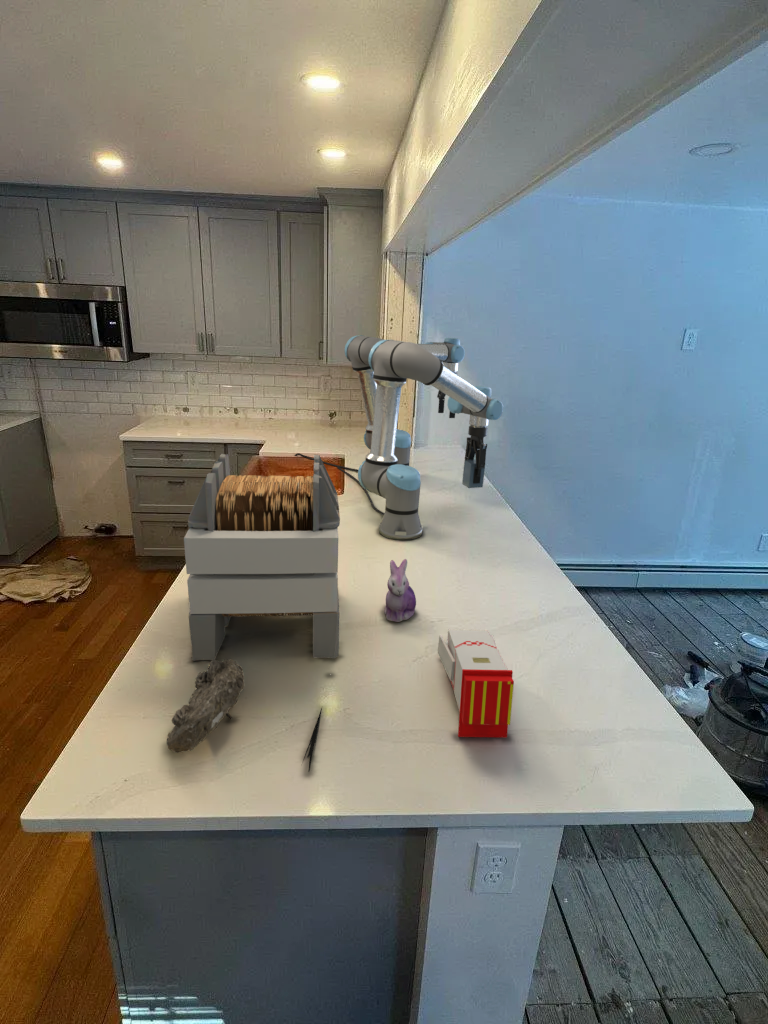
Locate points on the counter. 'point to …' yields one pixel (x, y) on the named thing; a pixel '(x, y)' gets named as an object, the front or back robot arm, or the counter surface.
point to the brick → (471, 474)
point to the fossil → (206, 705)
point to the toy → (478, 682)
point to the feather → (313, 740)
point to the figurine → (399, 594)
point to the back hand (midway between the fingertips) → (446, 415)
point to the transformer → (263, 554)
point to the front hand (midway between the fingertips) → (472, 480)
